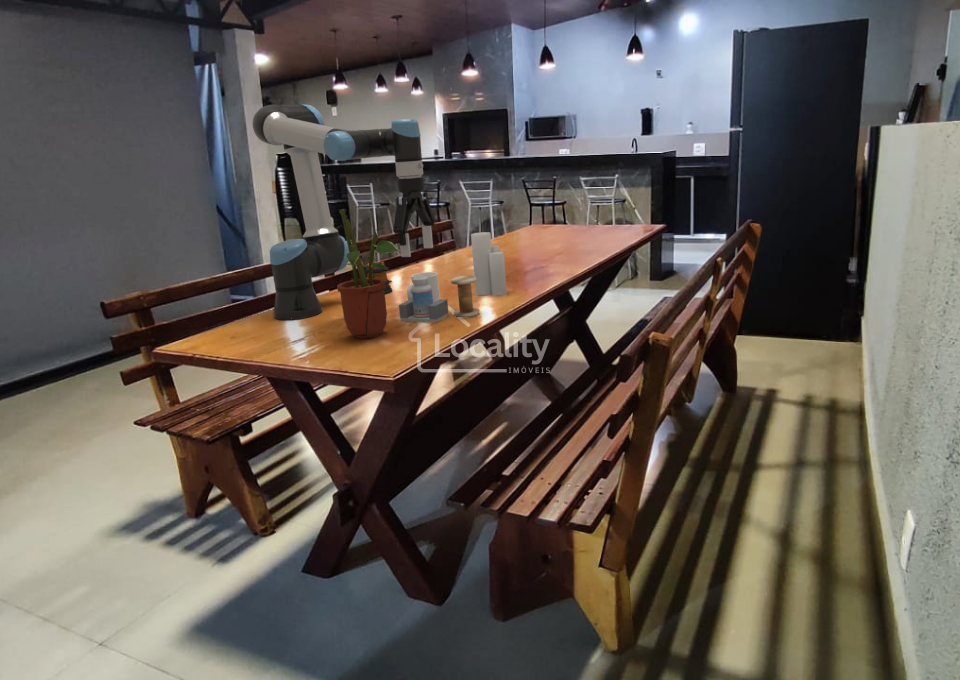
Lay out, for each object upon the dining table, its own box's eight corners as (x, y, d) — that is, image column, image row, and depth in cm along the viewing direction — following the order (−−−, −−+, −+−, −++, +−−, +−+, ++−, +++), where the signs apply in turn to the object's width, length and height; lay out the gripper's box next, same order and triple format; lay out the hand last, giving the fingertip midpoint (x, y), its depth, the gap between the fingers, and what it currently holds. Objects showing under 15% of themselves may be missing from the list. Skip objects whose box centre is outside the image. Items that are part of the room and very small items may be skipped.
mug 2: (398, 290, 241) (395, 258, 238) (381, 296, 233) (377, 264, 230) (370, 288, 248) (366, 257, 244) (352, 295, 239) (348, 263, 236)
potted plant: (346, 345, 179) (328, 212, 168) (341, 331, 193) (323, 208, 183) (411, 335, 183) (396, 205, 173) (401, 322, 197) (387, 201, 187)
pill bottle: (438, 314, 199) (434, 277, 195) (420, 319, 195) (416, 281, 192) (428, 311, 203) (424, 275, 200) (410, 315, 200) (406, 278, 197)
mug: (418, 313, 206) (414, 280, 203) (400, 310, 211) (396, 278, 208) (445, 304, 214) (442, 273, 211) (427, 302, 220) (424, 271, 217)
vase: (472, 295, 224) (467, 235, 219) (481, 290, 231) (476, 232, 225) (503, 296, 220) (499, 235, 214) (511, 291, 226) (507, 231, 220)
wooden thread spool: (449, 317, 199) (446, 280, 195) (460, 310, 205) (457, 275, 202) (473, 318, 196) (470, 281, 192) (483, 311, 202) (480, 275, 199)
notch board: (400, 321, 199) (398, 304, 197) (413, 314, 206) (412, 298, 204) (436, 322, 194) (434, 306, 192) (448, 315, 201) (447, 299, 199)
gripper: (399, 180, 175) (407, 260, 182) (442, 172, 197) (448, 244, 203) (375, 181, 178) (383, 260, 185) (419, 173, 200) (426, 244, 206)
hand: (417, 252), depth 194 cm, fingers open, 13 cm apart
